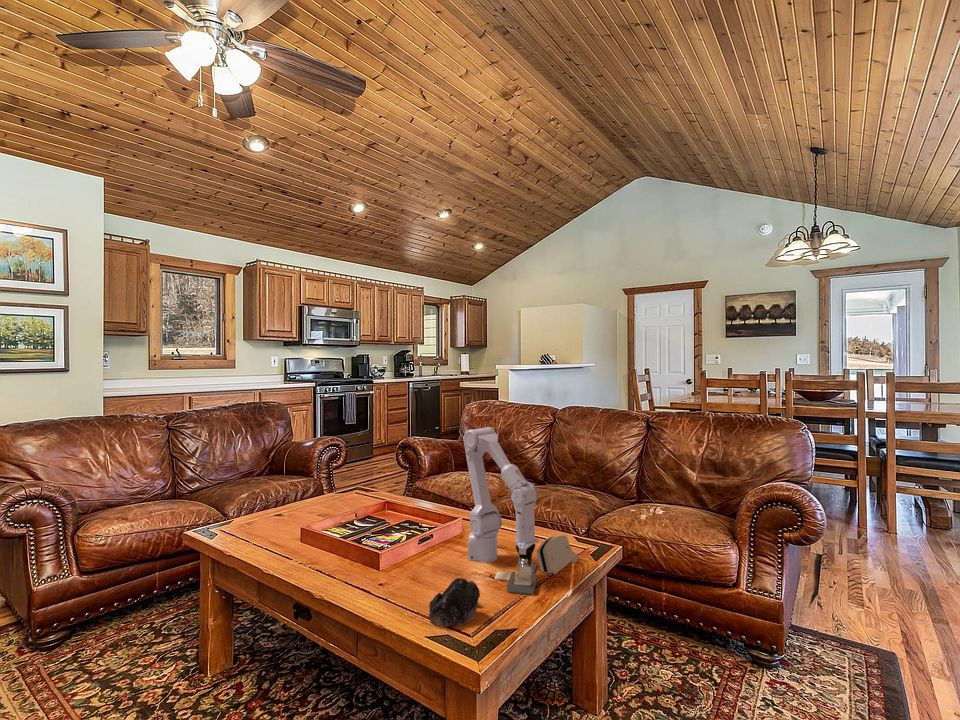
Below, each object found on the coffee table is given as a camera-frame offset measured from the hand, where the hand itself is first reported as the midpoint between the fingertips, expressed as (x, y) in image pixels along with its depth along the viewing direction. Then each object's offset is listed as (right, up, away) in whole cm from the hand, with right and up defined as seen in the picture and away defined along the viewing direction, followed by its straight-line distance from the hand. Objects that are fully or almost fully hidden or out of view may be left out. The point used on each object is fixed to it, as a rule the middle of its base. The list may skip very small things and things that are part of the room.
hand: (526, 568), depth 151 cm
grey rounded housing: (+11, -3, +9) cm, 14 cm away
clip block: (0, -1, -1) cm, 2 cm away
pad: (-7, -3, 0) cm, 8 cm away
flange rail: (-1, -3, -2) cm, 4 cm away
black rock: (-21, -4, -21) cm, 30 cm away
